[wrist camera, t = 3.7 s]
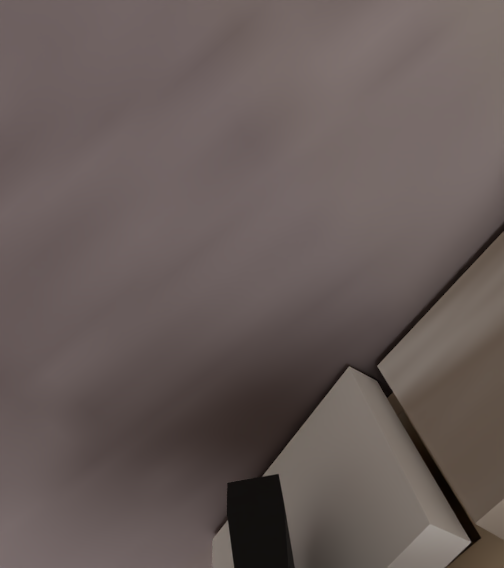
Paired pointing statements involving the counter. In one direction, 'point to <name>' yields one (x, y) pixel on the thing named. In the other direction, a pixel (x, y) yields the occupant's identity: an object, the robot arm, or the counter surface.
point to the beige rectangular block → (460, 401)
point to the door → (359, 489)
